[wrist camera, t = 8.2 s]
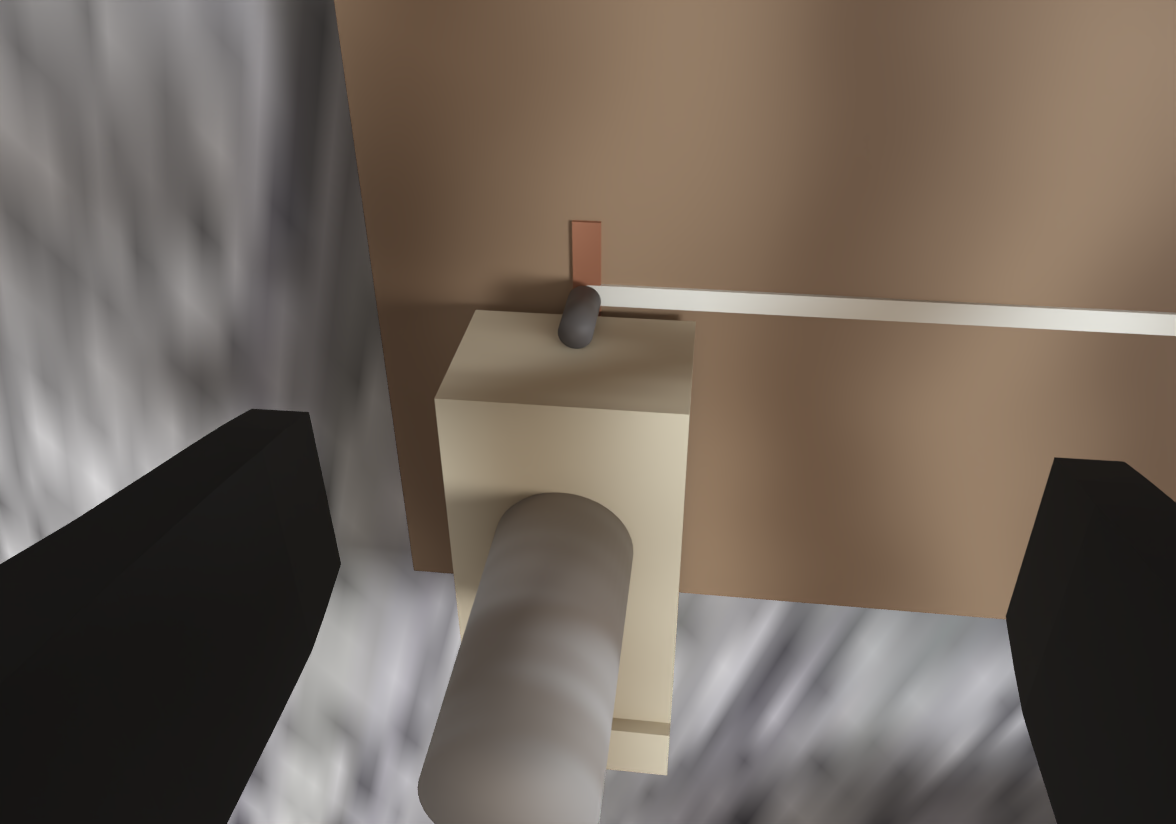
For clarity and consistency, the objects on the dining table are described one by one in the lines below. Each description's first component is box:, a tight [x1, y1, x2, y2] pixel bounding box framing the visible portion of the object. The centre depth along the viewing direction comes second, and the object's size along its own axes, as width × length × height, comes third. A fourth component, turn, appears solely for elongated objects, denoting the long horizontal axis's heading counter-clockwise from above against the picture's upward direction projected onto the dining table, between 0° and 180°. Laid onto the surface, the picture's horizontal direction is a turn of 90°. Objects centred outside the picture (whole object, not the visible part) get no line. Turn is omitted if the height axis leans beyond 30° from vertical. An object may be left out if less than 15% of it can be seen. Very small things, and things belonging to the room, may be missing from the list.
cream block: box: [418, 286, 696, 824], centre depth 17 cm, size 4×9×10 cm, turn 0°
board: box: [334, 0, 1176, 619], centre depth 17 cm, size 18×20×2 cm
